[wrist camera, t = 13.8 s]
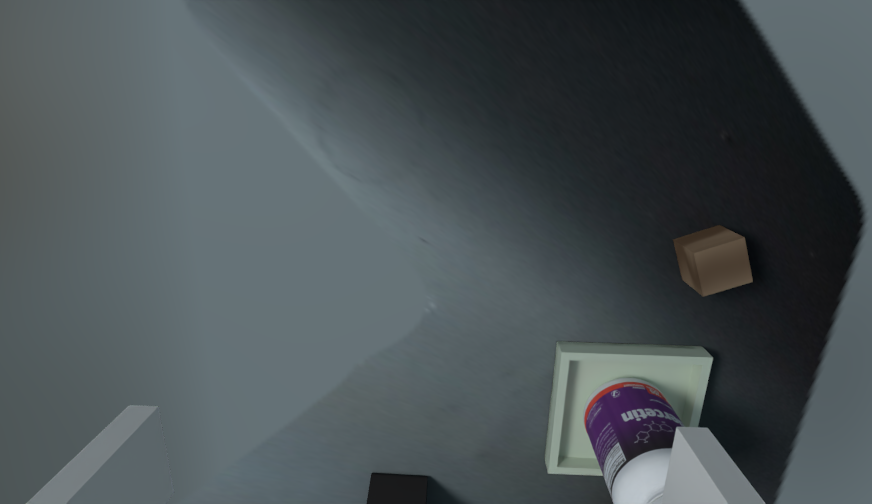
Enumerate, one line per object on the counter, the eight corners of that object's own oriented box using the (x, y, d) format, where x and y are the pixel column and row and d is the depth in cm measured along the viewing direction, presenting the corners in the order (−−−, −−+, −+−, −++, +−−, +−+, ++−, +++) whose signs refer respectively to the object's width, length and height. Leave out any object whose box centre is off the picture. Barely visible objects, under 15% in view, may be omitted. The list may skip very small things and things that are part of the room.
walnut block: (672, 239, 43) (693, 253, 39) (718, 224, 43) (744, 237, 39) (681, 279, 44) (703, 296, 40) (726, 265, 44) (752, 281, 40)
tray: (557, 341, 46) (561, 352, 44) (701, 346, 46) (713, 357, 44) (544, 458, 51) (548, 473, 49) (677, 464, 50) (686, 479, 48)
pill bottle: (676, 383, 47) (769, 503, 33) (645, 450, 49) (719, 587, 35) (595, 364, 46) (655, 477, 33) (568, 432, 49) (613, 564, 35)
